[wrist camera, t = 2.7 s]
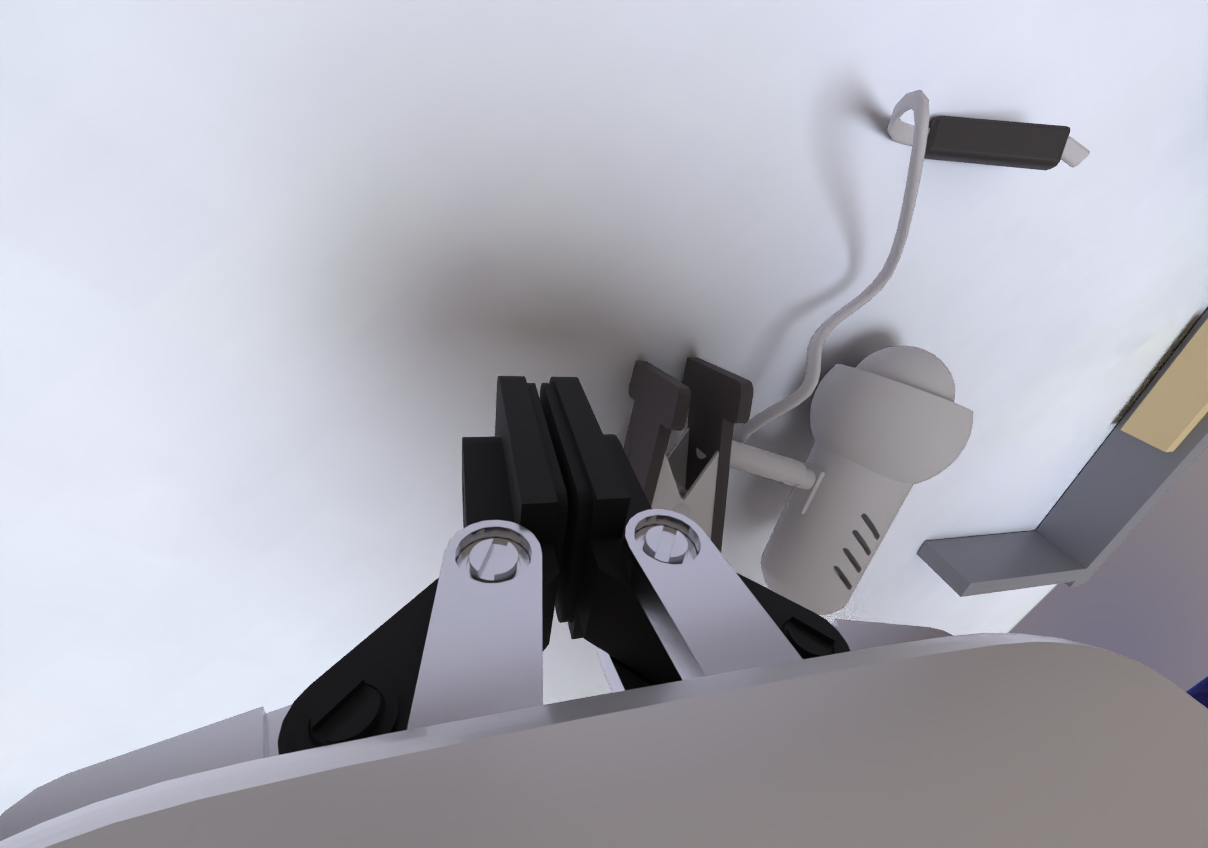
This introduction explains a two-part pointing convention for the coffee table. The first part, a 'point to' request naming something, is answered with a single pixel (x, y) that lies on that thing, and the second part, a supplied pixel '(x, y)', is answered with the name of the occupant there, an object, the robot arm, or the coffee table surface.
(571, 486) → the robot arm
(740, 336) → the coffee table surface
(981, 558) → the grey u-shaped handle
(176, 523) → the coffee table surface
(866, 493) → the clip-on lamp
